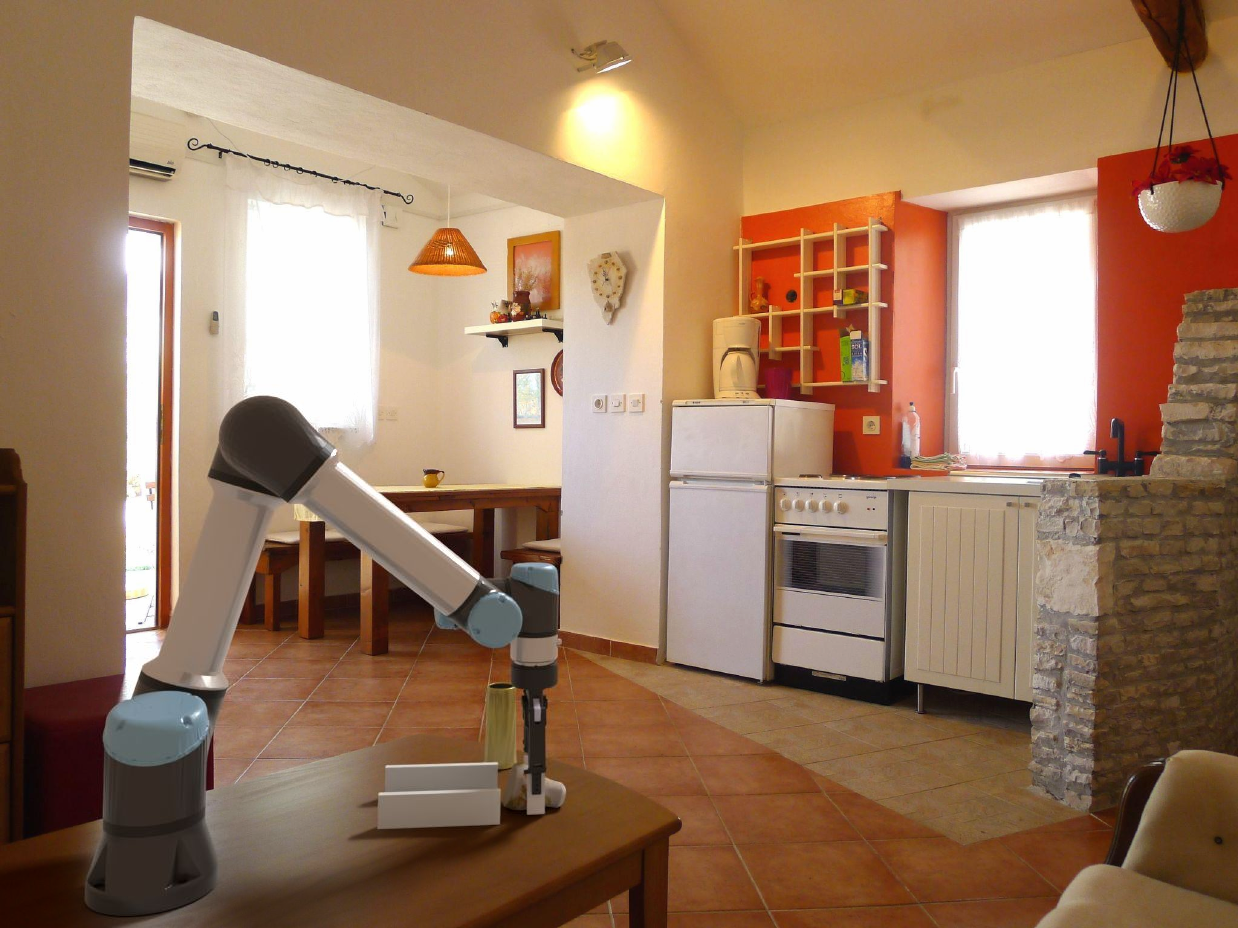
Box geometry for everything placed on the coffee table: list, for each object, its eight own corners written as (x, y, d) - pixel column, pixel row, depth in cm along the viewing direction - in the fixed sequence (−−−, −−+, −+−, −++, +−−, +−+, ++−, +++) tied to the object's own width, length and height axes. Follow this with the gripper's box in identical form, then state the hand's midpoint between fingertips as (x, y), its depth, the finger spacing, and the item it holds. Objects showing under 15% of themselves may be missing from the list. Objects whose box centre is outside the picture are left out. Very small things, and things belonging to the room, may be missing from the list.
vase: (478, 768, 165) (480, 688, 165) (488, 757, 171) (490, 680, 171) (511, 770, 164) (513, 690, 164) (520, 760, 170) (522, 682, 170)
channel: (377, 828, 137) (378, 795, 137) (385, 795, 151) (386, 765, 151) (499, 824, 140) (500, 791, 140) (496, 792, 154) (497, 762, 154)
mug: (574, 814, 146) (546, 765, 143) (517, 841, 146) (489, 792, 143) (570, 786, 153) (544, 739, 150) (517, 811, 153) (490, 764, 150)
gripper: (564, 674, 138) (563, 827, 139) (552, 646, 159) (551, 779, 159) (514, 676, 137) (513, 830, 137) (507, 647, 157) (507, 782, 158)
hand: (533, 803), depth 148 cm, fingers closed on mug, 7 cm apart
